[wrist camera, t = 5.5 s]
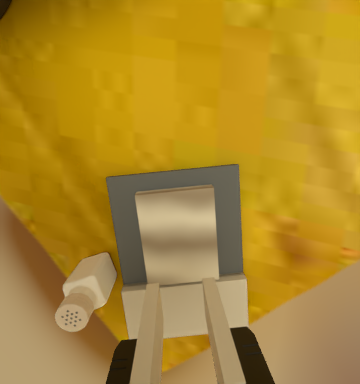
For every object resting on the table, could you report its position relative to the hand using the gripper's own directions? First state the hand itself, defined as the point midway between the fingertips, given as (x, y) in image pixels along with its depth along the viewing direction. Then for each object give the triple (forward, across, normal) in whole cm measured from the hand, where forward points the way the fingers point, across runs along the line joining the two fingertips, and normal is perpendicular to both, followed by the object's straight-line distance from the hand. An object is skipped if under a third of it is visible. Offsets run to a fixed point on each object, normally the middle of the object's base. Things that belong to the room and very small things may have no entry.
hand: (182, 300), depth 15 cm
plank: (+15, 0, -2) cm, 15 cm away
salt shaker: (+17, -11, -6) cm, 21 cm away
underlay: (+17, 0, -5) cm, 17 cm away
